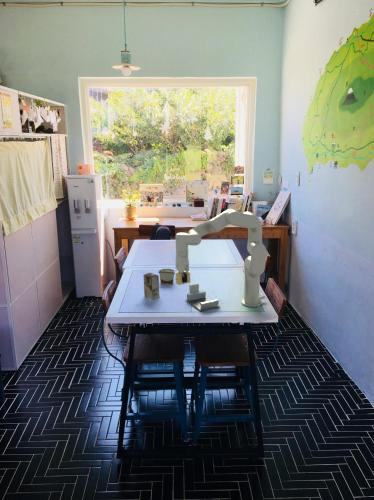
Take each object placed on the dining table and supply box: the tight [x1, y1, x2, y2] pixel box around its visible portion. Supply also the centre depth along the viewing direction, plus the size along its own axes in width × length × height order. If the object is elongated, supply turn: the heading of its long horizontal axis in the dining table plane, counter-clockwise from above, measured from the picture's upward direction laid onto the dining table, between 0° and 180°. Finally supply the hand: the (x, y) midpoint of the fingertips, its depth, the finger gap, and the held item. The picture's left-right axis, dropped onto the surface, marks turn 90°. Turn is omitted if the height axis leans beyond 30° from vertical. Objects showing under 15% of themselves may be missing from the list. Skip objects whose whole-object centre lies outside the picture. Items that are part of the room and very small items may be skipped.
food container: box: [158, 268, 176, 285], centre depth 306 cm, size 12×6×10 cm, turn 74°
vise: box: [185, 296, 221, 313], centre depth 267 cm, size 14×20×5 cm
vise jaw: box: [186, 282, 207, 301], centre depth 274 cm, size 12×6×9 cm, turn 118°
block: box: [175, 270, 191, 286], centre depth 256 cm, size 8×4×7 cm, turn 118°
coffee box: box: [142, 272, 160, 301], centre depth 278 cm, size 9×6×16 cm
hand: (183, 281), depth 256 cm, fingers closed on block, 4 cm apart
